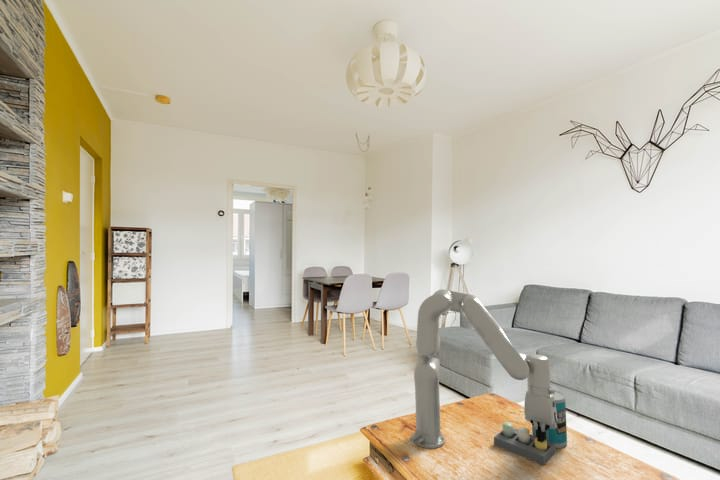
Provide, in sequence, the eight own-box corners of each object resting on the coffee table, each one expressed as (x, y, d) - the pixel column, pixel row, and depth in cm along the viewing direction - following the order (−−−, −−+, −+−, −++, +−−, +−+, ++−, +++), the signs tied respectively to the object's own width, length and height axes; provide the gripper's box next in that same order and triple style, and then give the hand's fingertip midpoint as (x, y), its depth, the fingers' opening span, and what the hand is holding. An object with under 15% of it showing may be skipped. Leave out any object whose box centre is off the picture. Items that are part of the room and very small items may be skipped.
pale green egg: (511, 438, 132) (510, 428, 132) (501, 434, 135) (500, 424, 135) (515, 434, 134) (515, 424, 135) (505, 431, 137) (505, 420, 138)
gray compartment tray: (544, 465, 119) (543, 456, 120) (494, 445, 132) (493, 437, 133) (555, 451, 128) (555, 443, 128) (507, 433, 141) (507, 426, 141)
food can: (531, 430, 143) (529, 386, 144) (564, 435, 138) (562, 390, 139) (533, 444, 132) (531, 397, 133) (569, 451, 127) (567, 402, 128)
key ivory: (527, 444, 127) (527, 433, 127) (516, 440, 130) (516, 429, 130) (531, 440, 130) (531, 429, 130) (520, 436, 133) (520, 426, 133)
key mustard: (545, 456, 123) (544, 444, 123) (533, 451, 126) (532, 440, 126) (548, 451, 126) (548, 440, 126) (537, 447, 129) (536, 436, 129)
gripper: (564, 392, 124) (567, 444, 123) (522, 381, 135) (524, 429, 134) (557, 398, 119) (560, 452, 118) (514, 387, 130) (516, 436, 129)
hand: (541, 440), depth 126 cm, fingers closed
